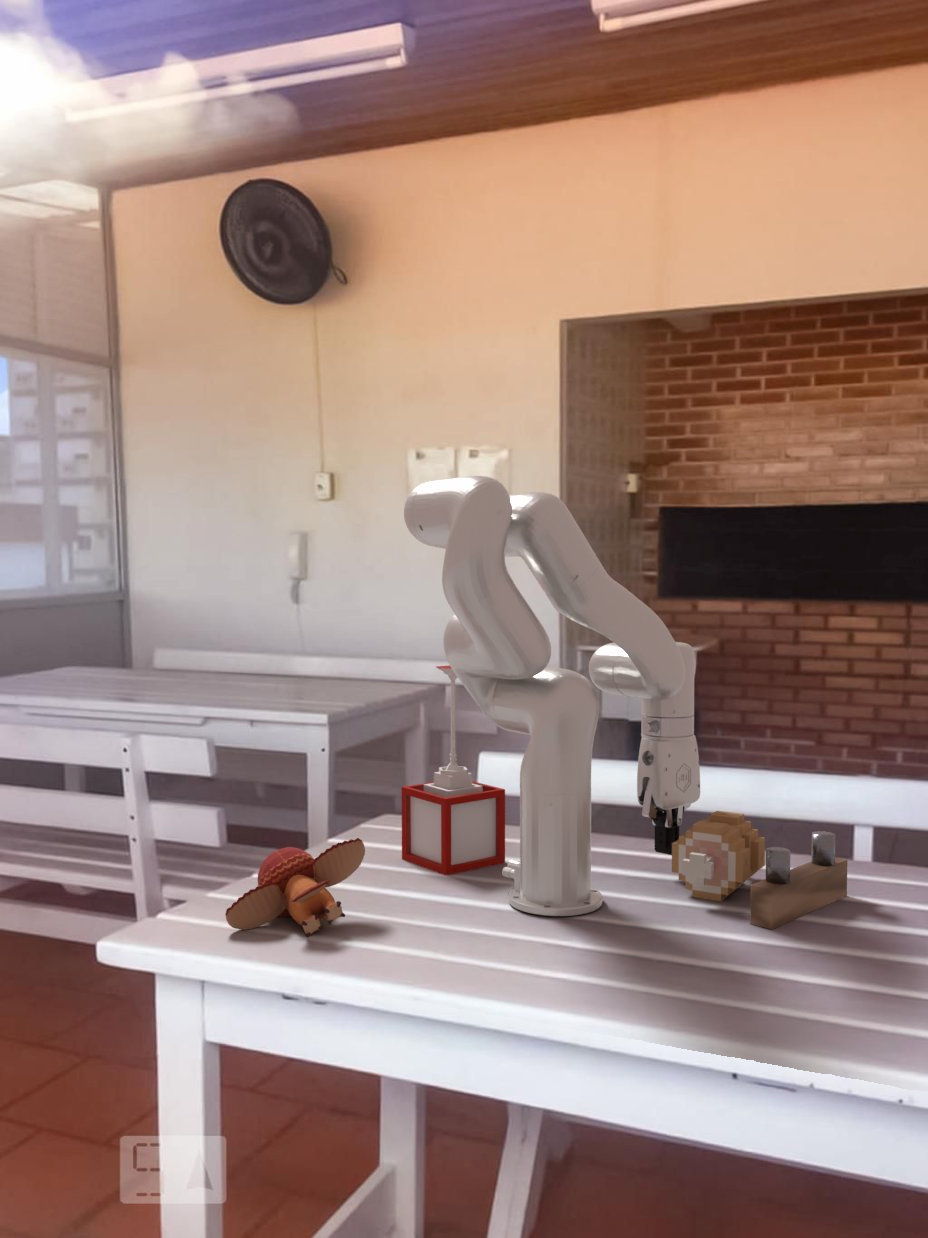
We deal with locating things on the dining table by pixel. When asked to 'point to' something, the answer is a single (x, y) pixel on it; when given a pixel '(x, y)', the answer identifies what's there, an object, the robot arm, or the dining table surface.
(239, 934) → the dining table surface
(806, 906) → the rail
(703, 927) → the dining table surface
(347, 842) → the figurine
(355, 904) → the dining table surface
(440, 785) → the pendant light
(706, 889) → the voxel meat on bone
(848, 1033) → the dining table surface
